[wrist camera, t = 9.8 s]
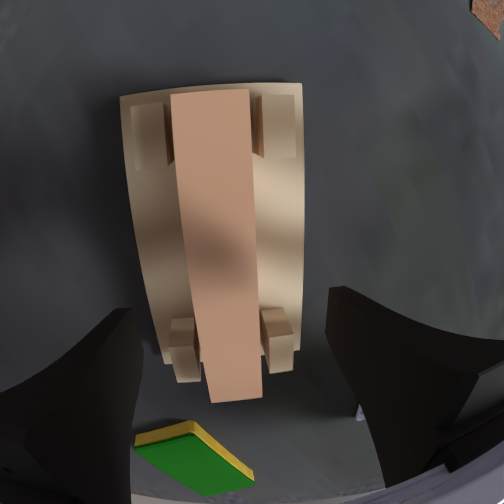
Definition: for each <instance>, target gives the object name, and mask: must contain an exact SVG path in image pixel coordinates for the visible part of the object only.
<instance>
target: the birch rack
mask: <svg viewBox="0 0 504 504" xmlns="http://www.w3.org/2000/svg"><path fill="white" fill-rule="evenodd" d="M228 89H249V98H250V119H251V140H252V161H253V183H254V205H255V228H256V251H257V274H258V298H259V323H260V347H261V355H265V358H266V361H267V365H268V369H269V373H270V374H271V373H278V372H284V371H291V370H293V355H294V351H296V350H300V337H301V317H302V293H303V261H304V132H303V101H302V83H235V84H217V85H203V86H192V87H182V88H173V89H165V90H157V91H150V92H144V93H137V94H131V95H126V96H120V111H121V125H122V137H123V148H124V158H125V167H126V176H127V184H128V192H129V199H130V206H131V212H132V219H133V225H134V231H135V237H136V243H137V248H138V254H139V259H140V264H141V269H142V274H143V279H144V284H145V288H146V293H147V297H148V302H149V306H150V310H151V314H152V318H153V323H154V327H155V331H156V334H157V338H158V342H159V346H160V349H161V353H162V357H163V360H164V364H173V368H174V372H175V375H176V379H177V382H178V383H181V382H196V381H201V367H200V362H203V359H202V353H201V348H200V342H199V337H198V331H197V325H196V319H195V313H194V307H193V301H192V295H191V288H190V282H189V275H188V268H187V261H186V254H185V246H184V238H183V230H182V222H181V214H180V205H179V196H178V186H177V176H176V165H175V154H174V141H173V128H172V113H171V96H170V95H171V94H179V93H189V92H200V91H212V90H228Z"/></svg>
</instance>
